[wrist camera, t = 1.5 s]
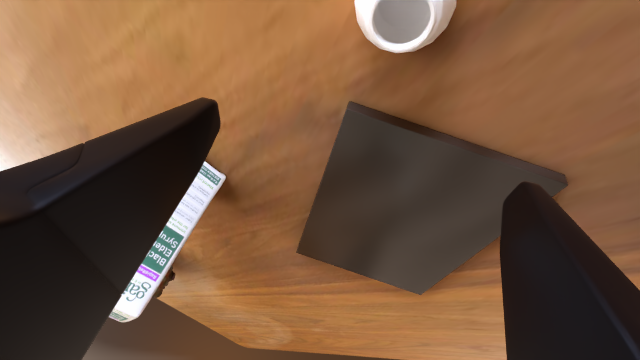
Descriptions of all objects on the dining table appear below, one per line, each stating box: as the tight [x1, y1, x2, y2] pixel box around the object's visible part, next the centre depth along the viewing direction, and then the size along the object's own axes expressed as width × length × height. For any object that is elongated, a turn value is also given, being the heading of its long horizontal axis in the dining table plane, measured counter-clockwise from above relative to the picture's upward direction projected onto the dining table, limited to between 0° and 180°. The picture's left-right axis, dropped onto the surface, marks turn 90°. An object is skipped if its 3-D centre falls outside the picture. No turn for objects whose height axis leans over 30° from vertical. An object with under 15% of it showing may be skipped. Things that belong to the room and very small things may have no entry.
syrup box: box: [109, 162, 226, 322], centre depth 27 cm, size 6×6×14 cm
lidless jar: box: [355, 0, 456, 53], centre depth 15 cm, size 5×3×5 cm
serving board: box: [296, 101, 568, 295], centre depth 30 cm, size 16×22×1 cm
